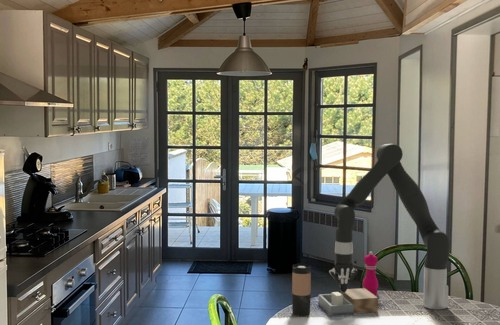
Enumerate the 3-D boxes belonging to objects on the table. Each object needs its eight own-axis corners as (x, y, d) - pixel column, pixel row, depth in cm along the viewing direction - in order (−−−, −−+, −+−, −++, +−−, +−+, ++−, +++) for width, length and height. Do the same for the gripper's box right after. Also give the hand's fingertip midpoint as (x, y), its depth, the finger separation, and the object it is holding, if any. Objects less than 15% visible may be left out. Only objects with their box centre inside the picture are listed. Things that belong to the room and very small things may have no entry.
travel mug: (312, 311, 234) (312, 264, 233) (308, 317, 227) (308, 268, 226) (294, 309, 237) (294, 262, 236) (289, 315, 230) (290, 267, 228)
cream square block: (338, 291, 242) (331, 292, 241) (342, 295, 237) (336, 295, 236) (337, 303, 242) (331, 303, 242) (342, 306, 238) (336, 307, 237)
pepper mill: (378, 296, 255) (379, 253, 254) (362, 295, 256) (363, 252, 255) (378, 292, 262) (378, 249, 261) (362, 291, 263) (363, 249, 262)
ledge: (364, 301, 248) (364, 288, 248) (377, 311, 234) (377, 297, 234) (340, 302, 246) (341, 289, 245) (352, 313, 232) (352, 299, 232)
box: (340, 302, 247) (340, 293, 247) (353, 314, 231) (353, 304, 231) (318, 303, 245) (318, 294, 245) (330, 315, 229) (330, 306, 229)
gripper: (355, 249, 242) (354, 288, 243) (326, 250, 240) (325, 290, 241) (361, 253, 235) (361, 293, 236) (331, 254, 232) (331, 295, 233)
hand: (343, 291), depth 238 cm, fingers closed
